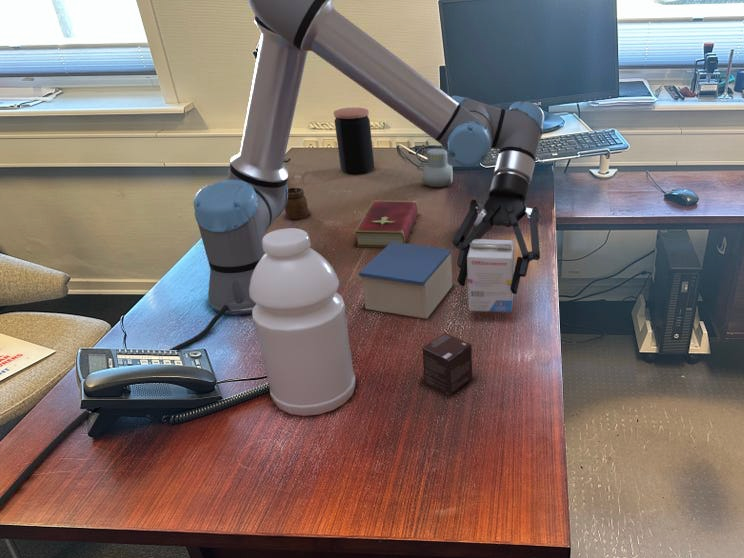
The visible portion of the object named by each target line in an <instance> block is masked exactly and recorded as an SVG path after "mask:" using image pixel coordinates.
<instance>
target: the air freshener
mask: <svg viewBox="0 0 744 558" xmlns="http://www.w3.org/2000/svg"><path fill="white" fill-rule="evenodd" d="M426 159H427V160H426V161H427V164H425V165H424V166H423V170H422V182H423V184H424V185H426V186H428V187H431V188H444V187H448V186H450V185H451V184H453V178H454V177H453V176H454V170H453V168H454V167H453V166H452V165H451V164H448V163H449V162H448V150H446V149H445V148H431V149H429V150H427V151H426Z"/></svg>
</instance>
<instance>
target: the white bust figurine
mask: <svg viewBox="0 0 744 558" xmlns="http://www.w3.org/2000/svg"><path fill="white" fill-rule="evenodd" d="M486 214H487V212H486V210H485V209H483V210H482V211H481V213H480V214H478V217H477V219H476V221H475V223H474V225H473V226H474V227H475V228H476V227H477V226H478V224H479V223H480V222H481V221H482V219H483V217H484V216H485V215H486Z"/></svg>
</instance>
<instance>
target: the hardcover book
mask: <svg viewBox="0 0 744 558" xmlns="http://www.w3.org/2000/svg"><path fill="white" fill-rule="evenodd" d="M418 213H419V207H418V202H417V201H415V200H372V201H371V203H370V204H369V206H368V208H367V209H366V211H365V213H364V215H363V217H362V218H361V220H360V222H359V223H358V225H357V226H356V228H355V230H354V234H356V238H357V242H356V245H355V247H358V248H386V247H387V246H388V245H389V244H390V243H391V242H397V243H405V244H407V240H408V238H409V236H410V233H411V232H412V231H411V230H412V228H413V226H414V224H415V221H416V218H417V216H418Z"/></svg>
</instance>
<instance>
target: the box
mask: <svg viewBox="0 0 744 558" xmlns="http://www.w3.org/2000/svg"><path fill="white" fill-rule="evenodd" d="M421 349H422V362H423V378H424V379H423V381H424V383H425V384H426V385H429V386H430V387H433V388H435V389H436V390H439V391H440V392H443V393H445V394H446V395H452V394H453V393H455V392H456V391H458V390H459V389H460V388H462V387H463V386H465V385H466V384H467V383H469V382H470V381H471V380H473V355H472V353H473V352H472V351H473V350H472V343H470V342H467V341H465V340H463V339H460V338H458V337H456V336H454V335H452V334H449V333H447V332H444V333H443V334H441V335H440V336H438V337H437V338H435V339H433V340H432V341H430V342H429V343H427V344H425V345H424V346H422V347H421Z"/></svg>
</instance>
